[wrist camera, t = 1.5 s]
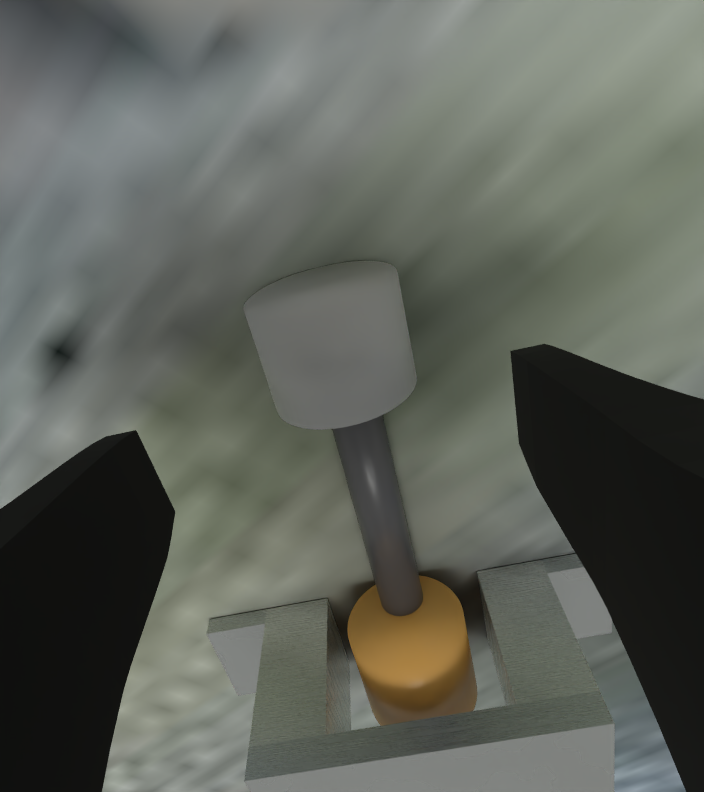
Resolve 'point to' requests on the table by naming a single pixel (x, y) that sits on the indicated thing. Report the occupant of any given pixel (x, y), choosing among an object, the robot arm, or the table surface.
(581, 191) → the table surface
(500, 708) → the housing
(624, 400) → the robot arm
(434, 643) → the plug
